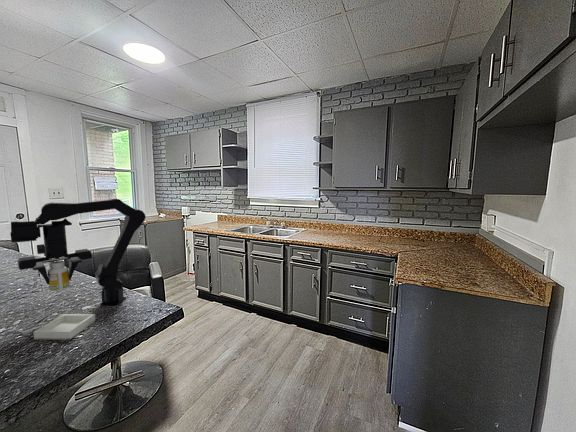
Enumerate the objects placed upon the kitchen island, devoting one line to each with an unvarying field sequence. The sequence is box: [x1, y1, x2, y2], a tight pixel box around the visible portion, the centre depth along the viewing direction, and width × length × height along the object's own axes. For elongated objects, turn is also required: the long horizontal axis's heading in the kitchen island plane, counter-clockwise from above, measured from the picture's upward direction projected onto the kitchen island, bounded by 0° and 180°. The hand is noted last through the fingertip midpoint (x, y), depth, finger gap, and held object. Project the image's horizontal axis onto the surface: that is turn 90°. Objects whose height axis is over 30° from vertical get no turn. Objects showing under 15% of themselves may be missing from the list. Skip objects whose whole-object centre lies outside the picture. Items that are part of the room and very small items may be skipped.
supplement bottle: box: [47, 260, 71, 292], centre depth 89 cm, size 5×5×10 cm
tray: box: [33, 313, 96, 340], centre depth 82 cm, size 11×11×2 cm
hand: (59, 281), depth 89 cm, fingers closed on supplement bottle, 5 cm apart
